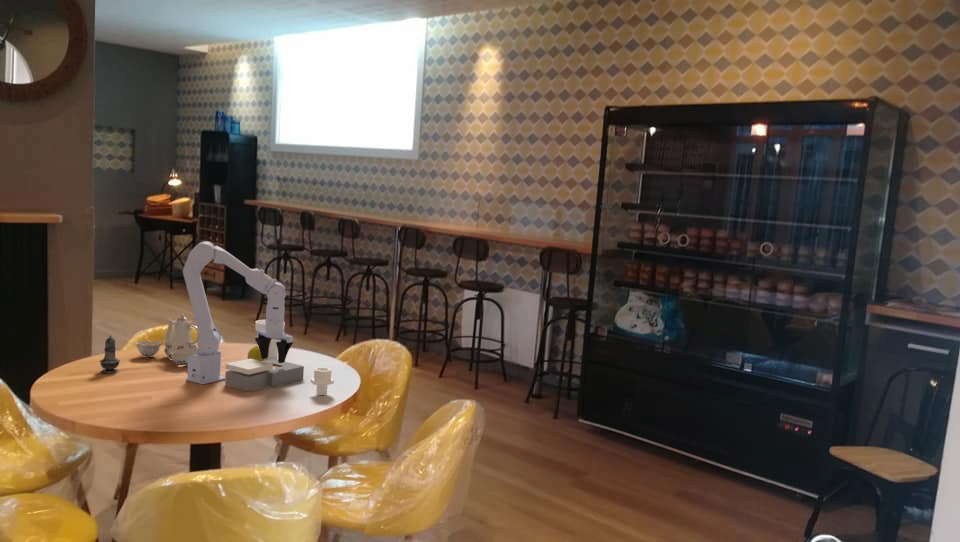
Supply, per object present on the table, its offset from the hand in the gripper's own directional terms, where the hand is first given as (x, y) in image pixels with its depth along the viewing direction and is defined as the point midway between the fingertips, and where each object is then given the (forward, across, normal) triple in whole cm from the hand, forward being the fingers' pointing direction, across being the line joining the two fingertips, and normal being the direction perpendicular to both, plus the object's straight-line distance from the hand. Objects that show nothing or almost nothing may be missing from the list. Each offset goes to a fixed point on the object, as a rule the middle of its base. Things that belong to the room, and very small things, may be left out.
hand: (273, 360), depth 231 cm
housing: (+6, 0, +4) cm, 7 cm away
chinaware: (+7, +42, +5) cm, 43 cm away
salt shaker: (+7, +42, +29) cm, 51 cm away
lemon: (+7, +14, -6) cm, 17 cm away
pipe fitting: (+6, -23, +2) cm, 24 cm away
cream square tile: (+1, 0, +10) cm, 10 cm away
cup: (+6, +22, -20) cm, 30 cm away
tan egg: (+6, 0, 0) cm, 6 cm away
